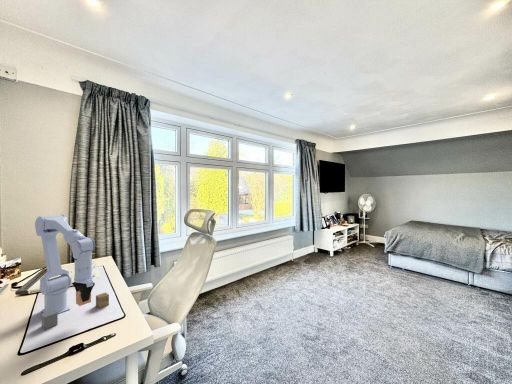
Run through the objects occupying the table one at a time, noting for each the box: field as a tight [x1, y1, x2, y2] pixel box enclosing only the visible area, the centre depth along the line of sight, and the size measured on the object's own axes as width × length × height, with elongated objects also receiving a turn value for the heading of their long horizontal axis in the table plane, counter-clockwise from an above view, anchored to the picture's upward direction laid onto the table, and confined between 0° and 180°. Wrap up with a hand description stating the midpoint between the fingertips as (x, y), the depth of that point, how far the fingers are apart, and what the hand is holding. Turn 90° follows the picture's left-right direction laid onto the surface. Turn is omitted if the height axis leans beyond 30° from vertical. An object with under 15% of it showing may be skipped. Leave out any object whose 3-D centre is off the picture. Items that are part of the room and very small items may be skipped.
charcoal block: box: [41, 310, 59, 331], centre depth 90 cm, size 4×4×5 cm
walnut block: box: [95, 292, 110, 309], centre depth 106 cm, size 4×4×5 cm
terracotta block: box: [75, 290, 92, 307], centre depth 93 cm, size 4×4×5 cm
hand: (83, 299), depth 93 cm, fingers closed on terracotta block, 4 cm apart
